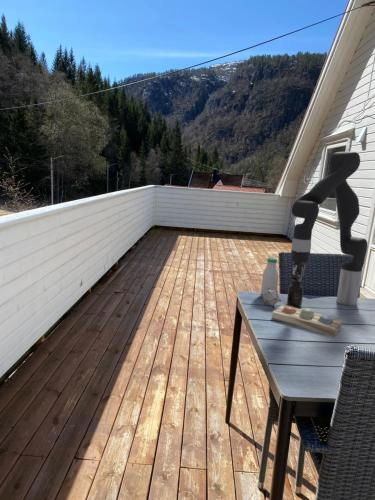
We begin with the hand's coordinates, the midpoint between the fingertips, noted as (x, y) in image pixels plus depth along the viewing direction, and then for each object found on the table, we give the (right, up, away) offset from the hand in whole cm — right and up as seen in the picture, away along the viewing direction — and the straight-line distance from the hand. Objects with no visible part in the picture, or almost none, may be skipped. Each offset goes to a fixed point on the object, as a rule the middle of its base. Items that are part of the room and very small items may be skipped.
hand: (296, 289), depth 143 cm
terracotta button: (-3, -11, +1) cm, 12 cm away
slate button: (+9, -13, -7) cm, 18 cm away
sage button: (+3, -11, -3) cm, 12 cm away
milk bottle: (-5, -7, +29) cm, 30 cm away
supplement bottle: (+5, -10, +19) cm, 22 cm away
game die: (-7, -10, +16) cm, 20 cm away
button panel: (+3, -14, -3) cm, 14 cm away
